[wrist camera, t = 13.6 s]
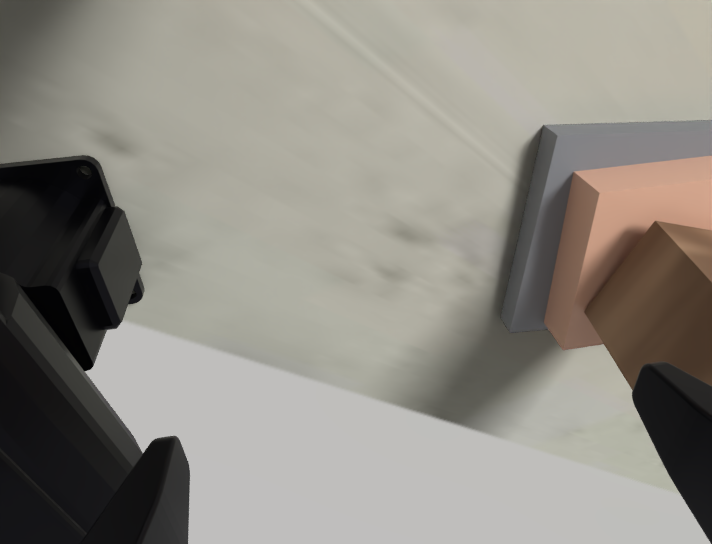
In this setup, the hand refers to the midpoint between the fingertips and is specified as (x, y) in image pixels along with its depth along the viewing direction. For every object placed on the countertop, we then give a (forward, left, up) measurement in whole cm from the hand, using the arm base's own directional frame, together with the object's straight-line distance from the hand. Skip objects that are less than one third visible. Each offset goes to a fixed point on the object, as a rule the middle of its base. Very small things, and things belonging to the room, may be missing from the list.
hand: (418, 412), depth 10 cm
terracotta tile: (+13, -5, -12) cm, 19 cm away
